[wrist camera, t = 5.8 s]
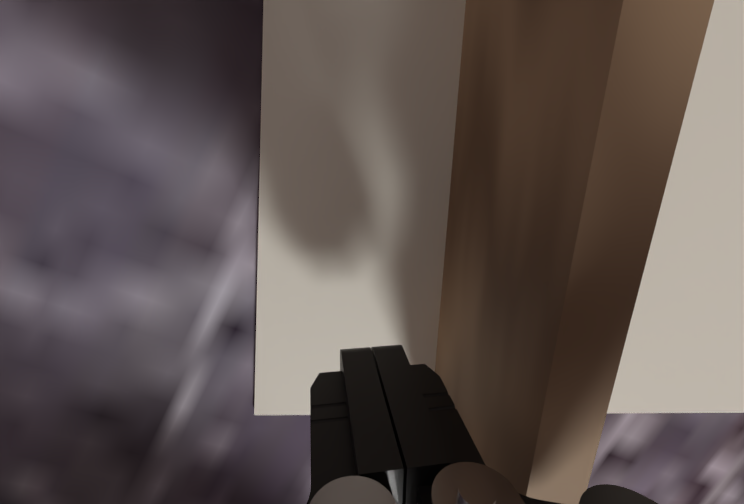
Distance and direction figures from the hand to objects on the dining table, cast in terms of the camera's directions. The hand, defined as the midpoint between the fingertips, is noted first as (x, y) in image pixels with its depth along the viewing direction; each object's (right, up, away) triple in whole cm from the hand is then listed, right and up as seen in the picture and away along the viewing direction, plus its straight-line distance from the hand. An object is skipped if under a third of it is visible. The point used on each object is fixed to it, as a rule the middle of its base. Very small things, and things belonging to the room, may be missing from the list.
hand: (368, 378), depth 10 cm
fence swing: (+3, +4, +2) cm, 5 cm away
